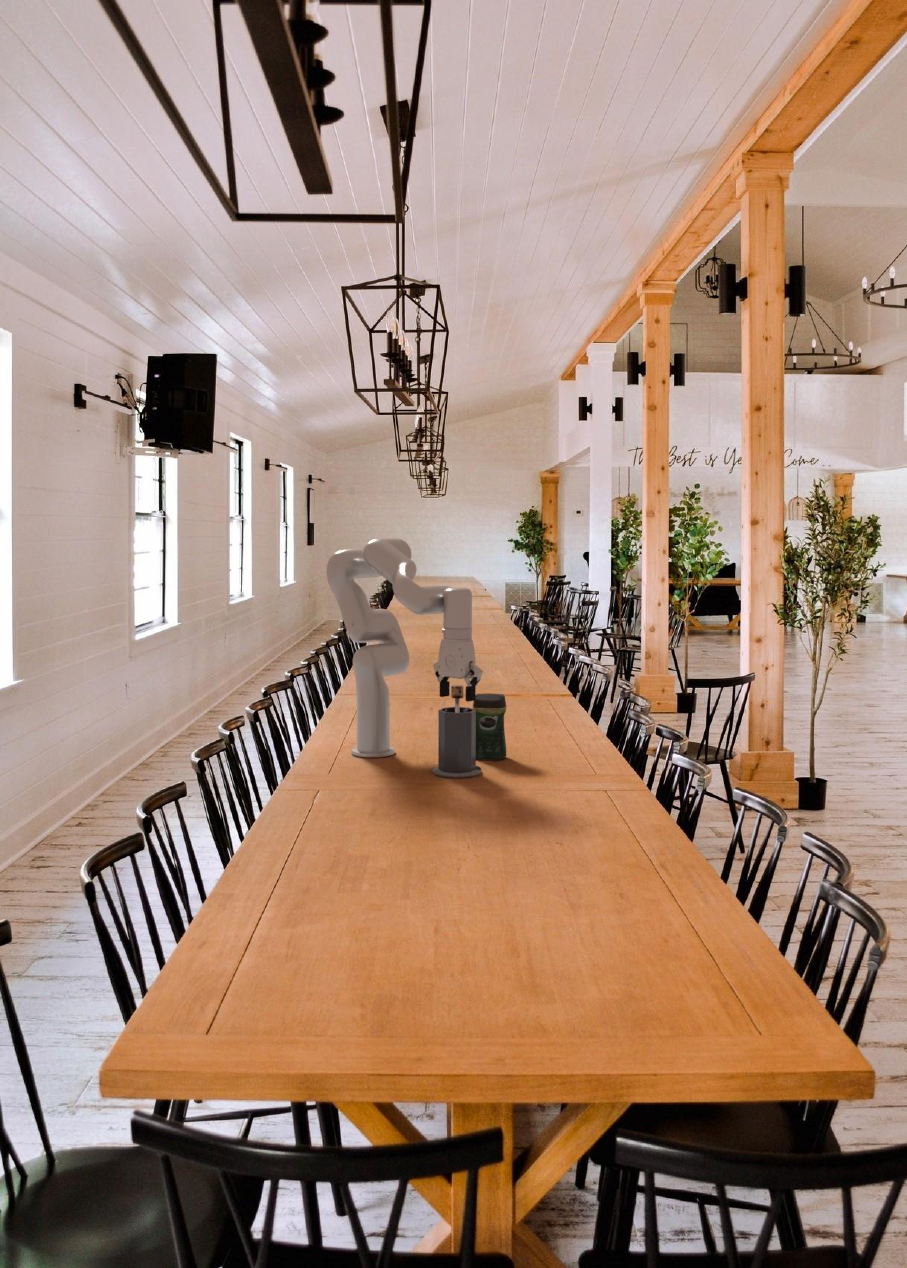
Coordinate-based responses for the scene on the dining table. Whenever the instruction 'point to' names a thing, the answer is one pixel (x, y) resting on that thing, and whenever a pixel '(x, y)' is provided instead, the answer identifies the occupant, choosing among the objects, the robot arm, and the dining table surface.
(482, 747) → the coffee jar
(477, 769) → the press carafe
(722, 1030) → the dining table surface
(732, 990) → the dining table surface
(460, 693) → the plunger
